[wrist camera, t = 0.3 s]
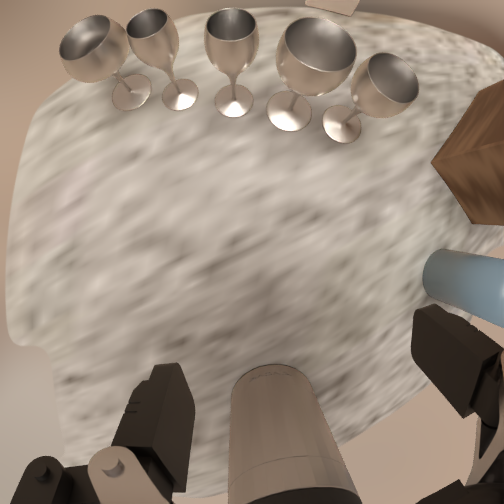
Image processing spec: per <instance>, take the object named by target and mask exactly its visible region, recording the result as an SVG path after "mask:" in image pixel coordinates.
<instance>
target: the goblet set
mask: <svg viewBox="0 0 504 504" xmlns="http://www.w3.org/2000/svg"><path fill="white" fill-rule="evenodd" d="M204 45H205V50H206V53H207V56H208V58H209V60H210V61H211V63H212V64H213V65H214V66H215V67H216V68H217V69H218V70H219V71H221V72H222V73H224V74H226V75H227V76H228V77H229V79H230V82H231V85H228V86H225V87H223V88H222V89H221V90H219V92H218V93H217V95H216V97H215V106H216V108H217V110H218V111H219V112H220V113H221V114H222V115H224V116H227V117H232V118H235V117H240V116H243V115H245V114H246V113H248V112H249V111H250V109H251V108H252V105H253V96H252V94H251V92H250V91H249V90H248V89H247V88H246V87H244V86H241V85H236V79H237V77H238V75H239V74H240V73H242V72H243V71H245V70H246V69H247V68H248V67H249V66H250V65H251V64H252V62H253V60H254V59H255V56H256V54H257V51H258V47H259V32H258V26H257V22H256V19H255V18H254V16H253V15H252V14H251V13H249V12H248V11H246V10H243V9H240V8H226V9H222V10H219V11H216V12H215V13H213V14H212V15H211V16H210V17H209V18H208V19H207V22H206V25H205V32H204ZM130 47H131V49H132V51H133V52H134V54H135V55H136V56H137V57H138V58H139V59H140V60H141V61H142V62H144V63H145V64H147V65H149V66H152V67H155V68H158V69H161V70H163V71H164V72H165V73H166V74H167V75H168V76H169V78H170V79H171V81H172V82H171V83H170V84H169V85H168V86H167V87H166V88H165V89H164V91H163V95H162V100H163V103H164V105H165V106H166V107H167V108H169V109H171V110H175V111H180V110H184V109H187V108H189V107H190V106H192V105H193V104H194V103H195V101H196V100H197V98H198V87H197V85H196V84H195V83H194V82H192V81H191V80H188V79H178V80H176V79H175V77H174V73H173V63H174V60H175V58H176V56H177V53H178V49H179V36H178V32H177V29H176V27H175V25H174V23H173V21H172V20H171V18H170V17H169V16H168V14H167V13H166V12H165V11H164V10H161V9H158V8H152V9H147V10H144V11H141V12H139V13H137V14H136V15H135V16H133V17H132V18H131V20H130V21H129V22H128V24H127V26H126V31H125V29H124V28H123V27H122V26H121V25H120V24H119V23H117V22H115V21H114V20H112V19H110V18H108V17H106V16H103V15H93V16H90V17H87V18H85V19H83V20H81V21H80V22H78V23H77V24H75V25H74V26H73V27H72V28H71V29H70V30H69V31H68V32H67V33H66V35H65V36H64V38H63V39H62V41H61V44H60V48H59V54H60V57H61V60H62V63H63V65H64V68H65V69H66V71H67V72H68V73H69V75H70V76H71V77H73V78H74V79H76V80H78V81H81V82H85V83H94V82H99V81H102V80H105V79H107V78H109V77H110V76H113V77H115V78H116V79H118V80H119V81H120V82H119V83H118V84H117V85H116V87H115V89H114V91H113V95H112V101H113V104H114V105H115V107H116V108H118V109H119V110H122V111H130V110H134V109H136V108H138V107H140V106H141V105H142V104H143V103H144V102H145V101H146V100H147V99H148V97H149V95H150V93H151V82H150V80H149V79H148V78H147V77H146V76H144V75H141V74H133V75H130V76H127V77H125V78H124V79H122V77H121V75H120V74H119V71H118V70H119V69H120V68H121V66H122V65H123V64H124V62H125V60H126V58H127V56H128V53H129V48H130ZM356 56H357V48H356V45H355V42H354V40H353V38H352V37H351V35H350V34H349V33H348V32H347V31H346V30H345V29H344V28H342V27H341V26H340V25H338V24H336V23H335V22H332V21H330V20H328V19H324V18H320V17H303V18H300V19H297V20H295V21H293V22H292V23H291V24H289V26H288V27H287V28H286V30H285V31H284V33H283V35H282V37H281V39H280V41H279V43H278V46H277V51H276V65H277V70H278V73H279V75H280V78H281V79H282V81H283V82H284V84H285V85H286V86H287V87H288V88H289V89H291V90H292V91H294V92H292V91H283V92H279V93H277V94H275V95H273V96H272V97H271V98H270V100H269V101H268V104H267V115H268V118H269V120H270V121H271V122H272V124H274V125H275V126H276V127H277V128H279V129H281V130H284V131H298V130H301V129H303V128H304V127H306V126H307V125H308V123H309V122H310V120H311V116H312V111H311V107H310V104H309V103H308V101H307V100H306V99H305V98H304V97H303V96H301V95H304V96H320V95H323V94H326V93H329V92H331V91H332V90H334V89H336V88H337V87H338V86H339V85H341V84H342V83H343V82H344V81H345V79H346V78H347V77H348V75H349V74H350V72H351V70H352V68H353V65H354V63H355V60H356ZM418 93H419V83H418V79H417V77H416V75H415V73H414V71H413V70H412V69H411V67H410V66H409V65H408V64H407V63H406V62H405V61H403V60H402V59H401V58H399V57H397V56H395V55H393V54H390V53H384V52H381V53H376V54H374V55H373V56H371V57H370V58H368V59H367V60H365V61H364V62H363V63H362V64H361V65H360V66H359V67H358V69H357V70H356V72H355V73H354V76H353V78H352V81H351V96H352V99H353V102H354V104H355V108H354V109H353V111H352V110H351V109H349V108H348V107H345V106H341V105H335V106H332V107H330V108H328V109H327V110H326V111H325V112H324V114H323V118H322V124H323V128H324V130H325V132H326V133H327V135H328V136H329V137H330V138H331V139H333V140H334V141H336V142H339V143H343V144H347V143H352V142H354V141H355V140H356V139H357V138H358V137H359V135H360V133H361V123H360V120H359V118H358V116H357V114H359V113H361V112H363V113H364V114H366V115H368V116H371V117H374V118H388V117H392V116H395V115H397V114H400V113H401V112H403V111H404V110H406V109H407V108H408V107H409V106H410V105H411V104H412V103H413V102H414V100H415V99H416V98H417V96H418Z"/></svg>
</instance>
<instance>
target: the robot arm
mask: <svg viewBox="0 0 504 504" xmlns="http://www.w3.org/2000/svg"><path fill="white" fill-rule="evenodd" d="M411 354H412V357H413V360H414V362H415V363H416V364H417V365H418V366H419V368H420V369H421V370H422V371H423V372H424V373H425V374H426V376H427V377H428V378H429V379H430V380H431V381H432V383H433V384H434V385H435V386H436V387H437V388H438V390H439V391H440V392H441V393H442V394H443V395H444V396H445V398H446V399H447V400H448V401H449V402H450V404H451V405H452V406H453V407H454V408H455V409H456V411H457V412H458V413H459V414H460V416H461V417H462V418H463V419H464V418H465V417H467V416H469V415H470V414H472V413H474V412H476V413H477V415H478V416H479V417H478V420H477V428H476V441H475V451H474V460H473V466H472V470H471V473H470V475H469V478H468V480H467V482H466V485H465V486H463V484H462V483H461V481H460V480H459V479H458V480H457V481H455V482H453V483H451V484H450V485H448V486H446V487H444V488H442V489H441V490H439V491H437V492H435V493H433V494H431V495H429V496H427V497H425V498H423V499H421V500H420V501H419V502H418V503H416V504H504V348H502V347H501V346H500V345H499V344H497V343H496V342H495V341H493V340H492V339H491V338H489V337H488V336H487V335H485V334H484V333H483V332H481V331H480V330H479V331H478V329H477V328H476V327H475V326H473V325H470V323H469V322H468V321H466V320H465V319H463V318H462V317H460V316H457V315H454V314H452V313H448V312H447V311H445V310H444V309H442V308H441V307H440V306H438V305H437V304H431V305H429V306H426V307H423V308H420V309H417V310H416V311H415V312H414V316H413V329H412V340H411ZM194 420H195V404H194V400H193V397H192V394H191V392H190V389H189V387H188V384H187V382H186V379H185V377H184V374H183V371H182V369H181V366H180V365H179V364H178V363H169V364H159V365H155V366H154V368H153V370H152V373H151V375H150V378H149V380H146V381H142V382H141V383H140V384H139V385H138V386H137V387H136V388H135V389H134V390H133V392H132V394H131V397H130V399H129V404H127V406H126V409H125V413H124V414H123V416H122V419H121V421H120V424H119V426H118V429H117V431H116V434H115V436H114V439H113V442H112V444H111V447H107V448H104V449H102V450H100V451H98V452H97V453H96V454H95V455H94V456H93V457H92V458H91V460H90V461H89V464H88V465H83V466H75V467H66V468H64V467H63V466H62V464H61V463H60V462H59V461H58V460H57V459H55V458H54V457H51V456H42V457H39V458H36V459H34V460H33V461H32V462H31V463H30V464H29V465H28V466H27V468H26V469H25V471H24V473H23V476H22V478H21V480H20V482H19V485H18V487H17V489H16V491H15V493H14V496H13V498H12V500H11V503H10V504H175V503H174V502H173V501H172V493H173V492H182V493H185V492H186V483H187V475H188V466H189V458H190V450H191V442H192V435H193V427H194ZM228 504H362V502H361V499H360V497H359V495H358V493H357V490H356V488H355V486H354V483H353V481H352V479H351V477H350V474H349V472H348V470H347V468H346V465H345V463H344V461H343V458H342V456H341V454H340V452H339V449H338V447H337V445H336V442H335V440H334V438H333V435H332V433H331V431H330V428H329V426H328V424H327V421H326V419H325V417H324V414H323V412H322V410H321V407H320V405H319V403H318V400H317V398H316V396H315V393H314V391H313V389H312V386H311V384H310V382H309V381H308V379H307V378H306V376H305V375H303V374H302V373H301V372H300V371H298V370H296V369H294V368H292V367H288V366H284V365H267V366H262V367H258V368H256V369H254V370H251V371H250V372H248V373H247V374H245V375H244V376H243V377H242V378H241V379H240V380H239V381H238V382H237V383H236V385H235V387H234V388H233V392H232V396H231V416H230V440H229V474H228Z"/></svg>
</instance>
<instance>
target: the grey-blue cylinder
mask: <svg viewBox="0 0 504 504" xmlns="http://www.w3.org/2000/svg"><path fill="white" fill-rule="evenodd" d="M423 285H424V288H425V290H426V292H427V294H428V295H429V296H431V297H433V298H435V299H437V300H440V301H442V302H444V303H447V304H449V305H451V306H454V307H456V308H458V309H461V310H463V311H465V312H468V313H470V314H472V315H475V316H477V317H479V318H482V319H484V320H486V321H488V322H491V323H493V324H495V325H497V326H500V327H503V328H504V259H499V258H493V257H488V256H482V255H476V254H471V253H465V252H459V251H453V250H447V249H440V250H437V251H435V252H434V253H433V254H432V255H431V256H430V257H429V259H428V260H427V262H426V264H425V267H424V271H423Z"/></svg>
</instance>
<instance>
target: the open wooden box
mask: <svg viewBox="0 0 504 504" xmlns="http://www.w3.org/2000/svg"><path fill="white" fill-rule="evenodd" d="M431 164H432V165H433V166H434V168H435V169H436V170H437V172H438V173H439V174H440V176H441V177H442V178H443V180H444V181H445V183H446V184H447V186H448V187H449V188H450V190H451V191H452V193H453V194H454V196H455V197H456V199H457V200H458V202H459V203H460V205H461V206H462V208H463V210H464V211H465V213H466V214H467V216H468V218H469V219H470V221H471V223H472V224H484V225H503V226H504V80H502V81H499V82H497V83H495V84H493V85H491V86H489V87H487V88H485V89H483V90H480V91H479V92H478V94H477V95H476V97H475V98H474V100H473V102H472V103H471V105H470V106H469V108H468V109H467V111H466V112H465V114H464V116H463V117H462V119H461V120H460V122H459V123H458V125H457V126H456V127H455V129H454V130H453V132H452V133H451V135H450V136H449V138H448V139H447V141H446V142H445V143H444V145H443V146H442V148H441V149H440V150H439V152H438V153H437V155H436V156H435V157H434V159H433V160H432V161H431Z"/></svg>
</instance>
